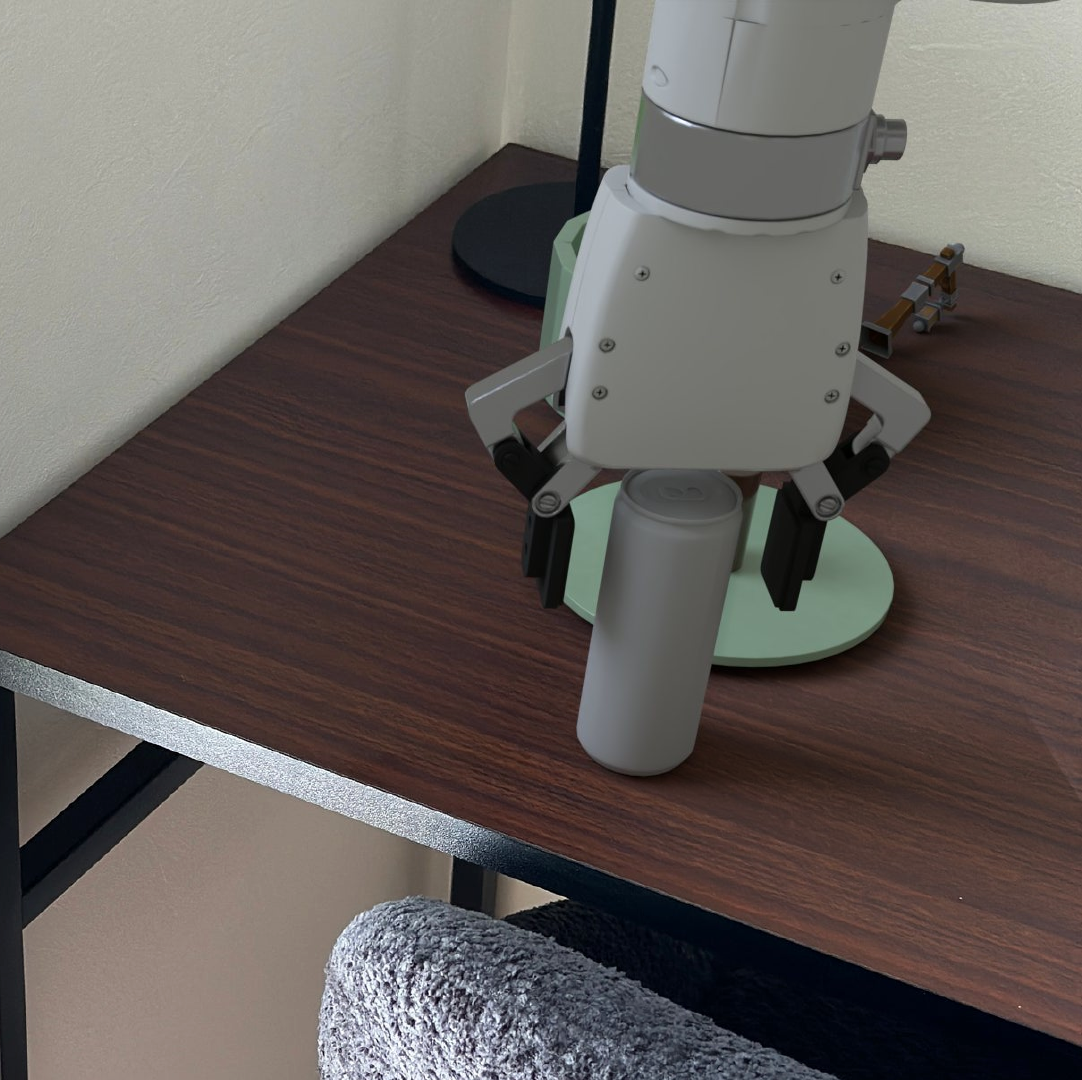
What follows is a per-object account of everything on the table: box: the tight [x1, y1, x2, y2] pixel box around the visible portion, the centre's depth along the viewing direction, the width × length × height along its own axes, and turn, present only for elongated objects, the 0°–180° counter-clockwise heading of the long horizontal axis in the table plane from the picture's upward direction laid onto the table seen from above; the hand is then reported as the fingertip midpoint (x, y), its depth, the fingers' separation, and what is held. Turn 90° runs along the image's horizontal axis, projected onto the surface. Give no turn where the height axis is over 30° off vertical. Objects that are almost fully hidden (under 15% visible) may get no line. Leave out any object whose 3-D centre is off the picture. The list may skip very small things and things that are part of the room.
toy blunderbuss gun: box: [859, 242, 966, 360], centre depth 117 cm, size 2×8×4 cm, turn 133°
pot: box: [538, 209, 591, 419], centre depth 109 cm, size 15×20×8 cm
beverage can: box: [576, 469, 743, 777], centre depth 83 cm, size 5×5×12 cm
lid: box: [563, 471, 895, 668], centre depth 95 cm, size 16×16×6 cm
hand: (662, 590), depth 82 cm, fingers open, 8 cm apart
